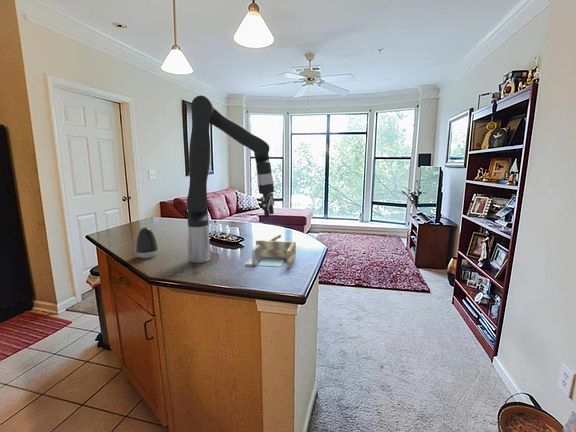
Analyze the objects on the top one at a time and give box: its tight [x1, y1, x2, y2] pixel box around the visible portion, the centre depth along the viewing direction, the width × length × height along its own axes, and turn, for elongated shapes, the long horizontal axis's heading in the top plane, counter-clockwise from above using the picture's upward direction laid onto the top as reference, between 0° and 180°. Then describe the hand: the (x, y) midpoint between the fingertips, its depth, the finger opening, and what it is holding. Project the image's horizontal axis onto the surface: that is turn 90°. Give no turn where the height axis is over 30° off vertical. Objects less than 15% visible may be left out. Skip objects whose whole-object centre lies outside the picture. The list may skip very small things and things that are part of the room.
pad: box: [256, 258, 285, 268], centre depth 136 cm, size 11×9×1 cm
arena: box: [255, 239, 297, 269], centre depth 137 cm, size 20×17×8 cm
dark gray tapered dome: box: [134, 226, 159, 259], centre depth 145 cm, size 10×10×15 cm
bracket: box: [244, 244, 261, 268], centre depth 134 cm, size 8×5×8 cm, turn 170°
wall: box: [268, 234, 282, 241], centre depth 156 cm, size 16×9×15 cm
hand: (269, 215), depth 144 cm, fingers open, 8 cm apart
